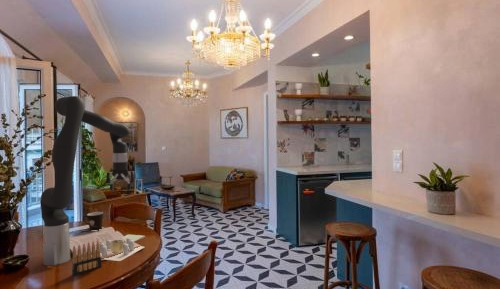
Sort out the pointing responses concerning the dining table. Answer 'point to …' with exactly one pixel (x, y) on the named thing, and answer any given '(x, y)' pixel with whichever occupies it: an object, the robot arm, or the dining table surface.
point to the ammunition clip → (86, 259)
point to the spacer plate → (123, 255)
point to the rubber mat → (133, 237)
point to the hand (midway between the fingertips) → (120, 190)
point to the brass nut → (116, 246)
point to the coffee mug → (94, 220)
